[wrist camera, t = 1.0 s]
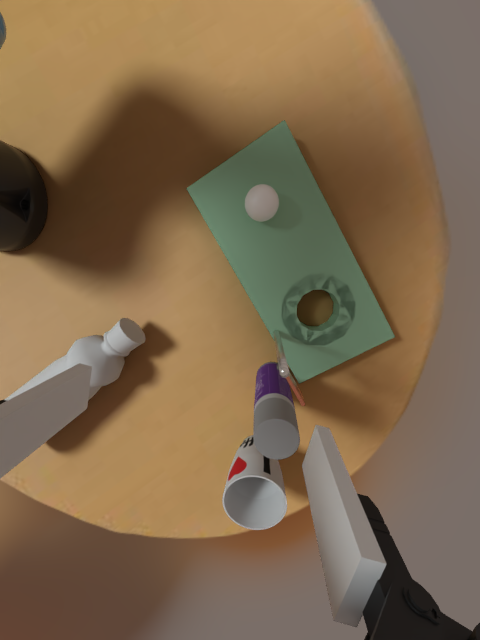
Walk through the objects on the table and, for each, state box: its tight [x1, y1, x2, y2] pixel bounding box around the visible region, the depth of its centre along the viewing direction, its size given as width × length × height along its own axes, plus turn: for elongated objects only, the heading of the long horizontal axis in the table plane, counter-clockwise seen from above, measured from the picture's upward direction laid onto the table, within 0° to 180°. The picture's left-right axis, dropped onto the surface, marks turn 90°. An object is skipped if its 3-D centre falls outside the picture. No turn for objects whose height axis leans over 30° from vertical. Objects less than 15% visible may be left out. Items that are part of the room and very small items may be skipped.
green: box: [186, 120, 395, 384], centre depth 34 cm, size 30×14×3 cm, turn 30°
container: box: [253, 362, 300, 460], centre depth 32 cm, size 5×5×15 cm
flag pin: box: [274, 330, 305, 406], centre depth 28 cm, size 4×1×14 cm, turn 30°
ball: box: [245, 184, 279, 222], centre depth 30 cm, size 4×4×4 cm
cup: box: [223, 435, 287, 530], centre depth 37 cm, size 8×8×10 cm
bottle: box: [4, 318, 146, 401], centre depth 38 cm, size 9×9×30 cm
